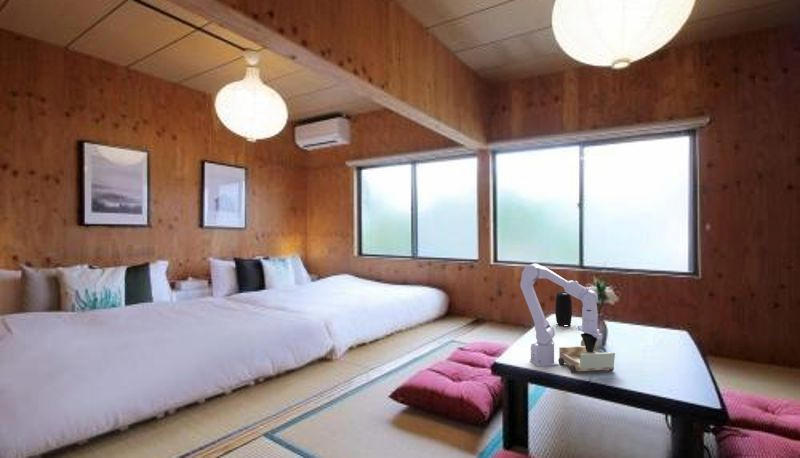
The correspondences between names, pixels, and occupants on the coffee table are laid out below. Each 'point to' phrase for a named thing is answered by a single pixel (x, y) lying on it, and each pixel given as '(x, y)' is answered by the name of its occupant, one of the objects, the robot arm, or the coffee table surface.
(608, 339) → the coffee table surface
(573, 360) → the wagon
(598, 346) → the ceramic mug
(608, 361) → the tailgate
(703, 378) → the coffee table surface
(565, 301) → the portable speaker
